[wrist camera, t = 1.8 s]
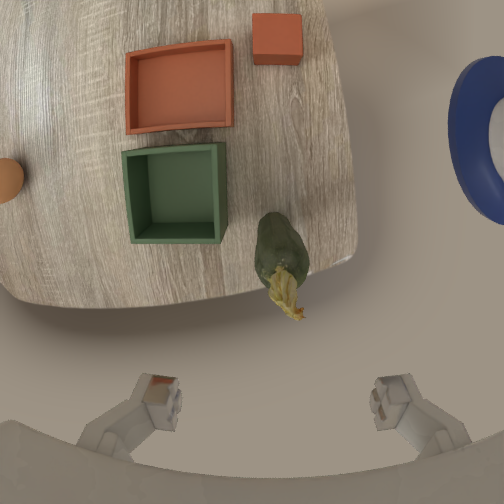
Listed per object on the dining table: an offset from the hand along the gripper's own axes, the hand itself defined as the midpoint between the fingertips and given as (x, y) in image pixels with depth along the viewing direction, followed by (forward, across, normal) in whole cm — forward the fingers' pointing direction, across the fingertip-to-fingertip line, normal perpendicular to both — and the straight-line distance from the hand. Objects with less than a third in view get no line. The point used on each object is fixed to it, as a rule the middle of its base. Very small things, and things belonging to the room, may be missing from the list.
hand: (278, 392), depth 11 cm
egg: (+28, +38, -7) cm, 48 cm away
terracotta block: (+28, -1, -20) cm, 34 cm away
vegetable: (+28, -1, +1) cm, 28 cm away
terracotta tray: (+28, +10, -15) cm, 33 cm away
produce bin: (+28, +10, -3) cm, 30 cm away
